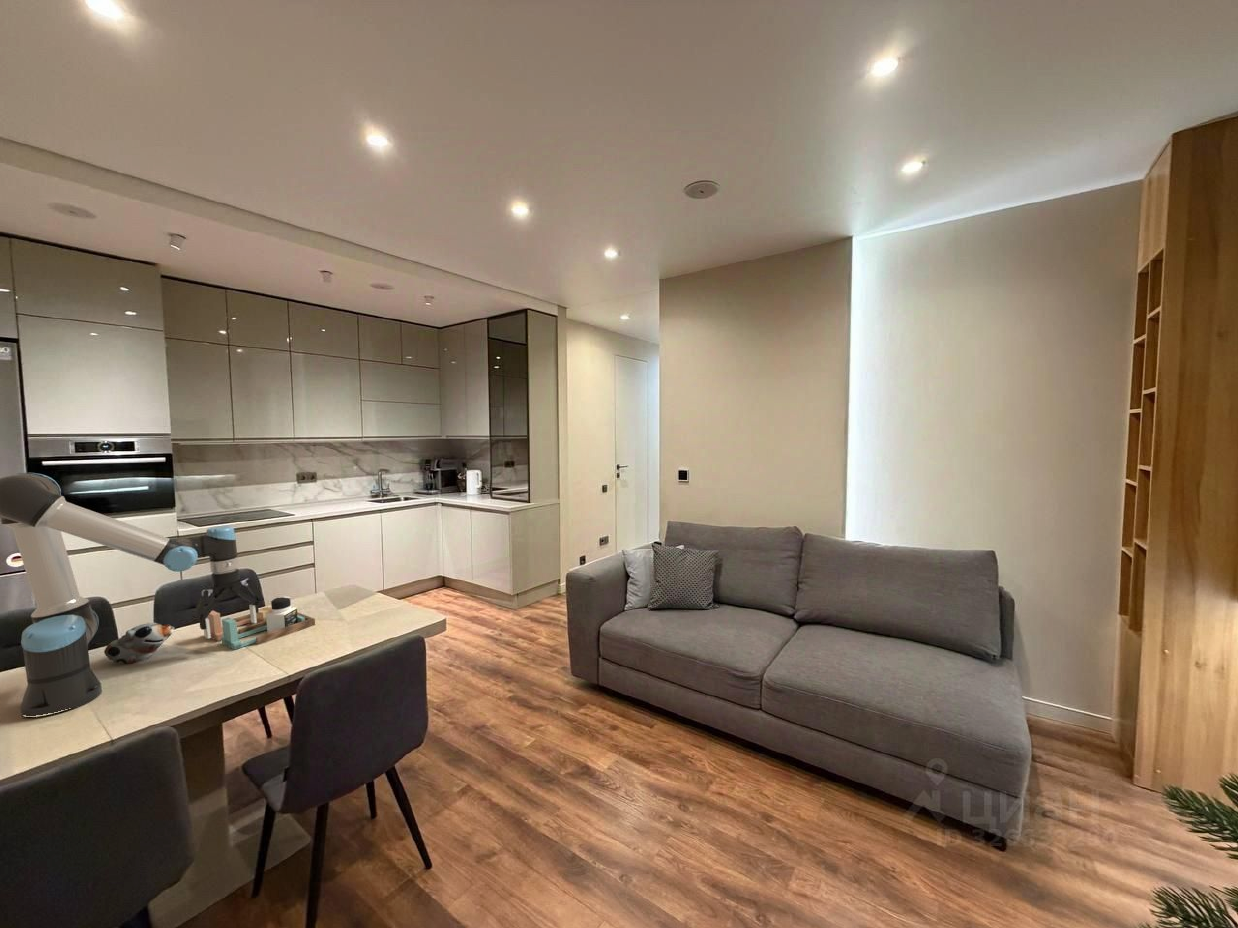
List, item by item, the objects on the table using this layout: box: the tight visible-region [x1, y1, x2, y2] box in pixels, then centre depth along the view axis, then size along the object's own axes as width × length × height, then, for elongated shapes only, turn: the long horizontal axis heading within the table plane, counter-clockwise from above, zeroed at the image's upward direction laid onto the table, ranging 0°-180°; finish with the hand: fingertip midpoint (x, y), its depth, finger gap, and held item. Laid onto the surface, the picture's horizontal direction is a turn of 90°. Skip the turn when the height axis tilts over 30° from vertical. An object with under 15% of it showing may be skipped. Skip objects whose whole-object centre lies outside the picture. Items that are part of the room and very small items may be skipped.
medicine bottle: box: [266, 596, 298, 633], centre depth 186 cm, size 7×7×12 cm
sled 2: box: [220, 615, 305, 650], centre depth 181 cm, size 23×10×9 cm, turn 149°
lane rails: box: [232, 611, 316, 645], centre depth 188 cm, size 19×28×2 cm
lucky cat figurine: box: [103, 622, 175, 665], centre depth 165 cm, size 15×12×14 cm
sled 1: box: [207, 610, 252, 642], centre depth 188 cm, size 23×10×9 cm, turn 149°
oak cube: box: [256, 606, 272, 624], centre depth 193 cm, size 5×5×5 cm
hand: (231, 629), depth 172 cm, fingers open, 13 cm apart
